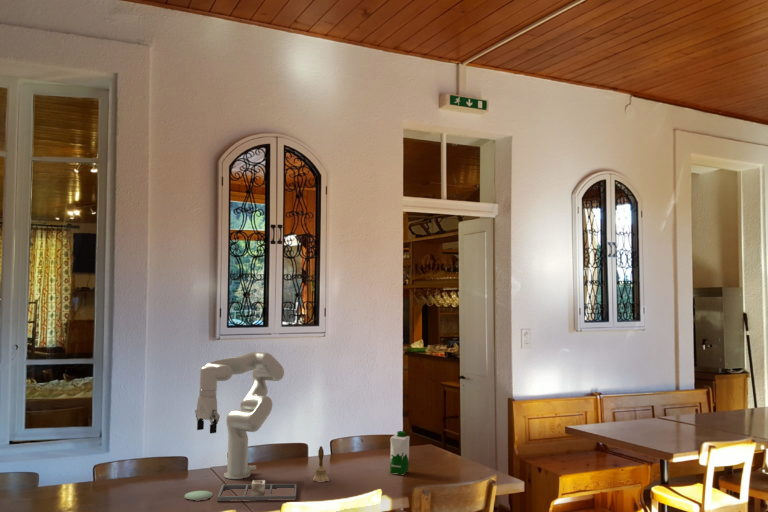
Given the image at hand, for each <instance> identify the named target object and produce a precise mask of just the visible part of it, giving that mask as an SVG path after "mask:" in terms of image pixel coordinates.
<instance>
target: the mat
mask: <svg viewBox="0 0 768 512" xmlns="http://www.w3.org/2000/svg"><path fill="white" fill-rule="evenodd" d="M211 496H212V497H214V493H213V492H212V491H208V490H195V491H189V492H187V493H185V494H184V499H185V498H187V499H193V500H199V499H206V498H209V497H211ZM212 497H211V498H212Z"/></svg>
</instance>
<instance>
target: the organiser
mask: <svg viewBox="0 0 768 512" xmlns="http://www.w3.org/2000/svg"><path fill="white" fill-rule="evenodd" d="M277 488H294V495H287V496H271V494H272V489H277ZM230 489H245V492H244V495H243V496H221V495H222V493H223V491H226V490H230ZM248 489H252V483H251V484H246V483H245V484H244V483H243V484H242V483H241V484H222V485H221V487H220V489H219V491H218V495H217V500H216V502H217V501H230V500H238V501H239V500H268V499H296V500H297V483H265V489H270V492H269V496H246V495H247V491H248Z"/></svg>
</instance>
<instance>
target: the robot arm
mask: <svg viewBox="0 0 768 512" xmlns="http://www.w3.org/2000/svg"><path fill="white" fill-rule="evenodd" d="M250 371H252V386H251V388H250V389H248V392H247V393H246V395H245V396H244V397H243V398H242V400H241V402H240V405H239V408H240V409H234V410H231V411H229V412H228V414H227V416H226V428H227V438H228V439H227V465H226V466H227V468H226V472H224V473H223V477H224V478H226V479H228V480H244V479H247V478H249V477H250V476H251V472H250V471H252V470H253V471H254V470H257V465H251V464H250V465H248V458H249V457H248V456H249V455H248V454H249V437H248V436H249V435H248V434H247V432H249V433H255V432H257V431H259V430H260V428H261V427H262V426H263V424H264V423H265V421H266V420H267V419H268V418H269V415H270V414H271V412H272V410H273V400H272V398H271V397H269V396H267V395H268V386H267V384H266V381H268V382H269V381H271V382H279V381H281V380H282V379H283V378H284V374H285V371H284V367H283V365H282V364H281V363H280V362H279V361H278V359H276V358H275V357H274V356H273V355H272V354H270V353H269V352H265V351H262V352H261V351H251V352H247V353H244V354H241V355H239V356H234V357H228V358H222V359H217V360H213V361H211V362H208V363H206V364H205V365H204V366H202V367H201V368H200V373H199V395H198V398H197V402H196V403H197V404H196V409H195V410H194V413H195V417H196V418H195V419H196V422H197V423H196V424H197V425H196V431H202V430H204V429H205V428H204V427H205V420H206V421H209V423H210V424H209V434H216V433H217V426H218V422H219V421H220V417H221V416H220V414H219V413H218V401H217V400H218V399H217V388H218V385H217V384H218V382H226V381H229V380H231V378H232V376H235V375H243V374H245V373H248V372H250ZM243 478H244V479H243Z"/></svg>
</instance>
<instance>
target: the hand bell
mask: <svg viewBox="0 0 768 512" xmlns="http://www.w3.org/2000/svg"><path fill="white" fill-rule="evenodd" d="M324 455H325V454H324V449H323V446H319V448H318V455H317V456H318V460H319V463H318V464H319V466H318V468H316V470H315V475H314V476H313V478H312V479H313V480H315V481H325V480H329V479H330V478H329V477H328V474H327V471H326V470H327V469H326V468H325V467H324V465H323V460H324ZM329 481H330V480H329Z"/></svg>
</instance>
